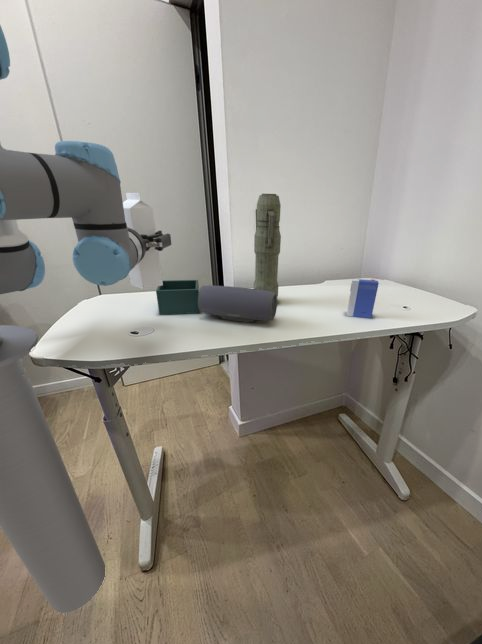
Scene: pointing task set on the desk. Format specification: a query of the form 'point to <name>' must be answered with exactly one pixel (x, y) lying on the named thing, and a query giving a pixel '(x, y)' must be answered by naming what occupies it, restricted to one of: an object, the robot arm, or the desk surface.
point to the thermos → (267, 243)
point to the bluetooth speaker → (237, 303)
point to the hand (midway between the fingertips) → (143, 235)
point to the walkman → (362, 298)
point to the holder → (178, 297)
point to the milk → (143, 223)
